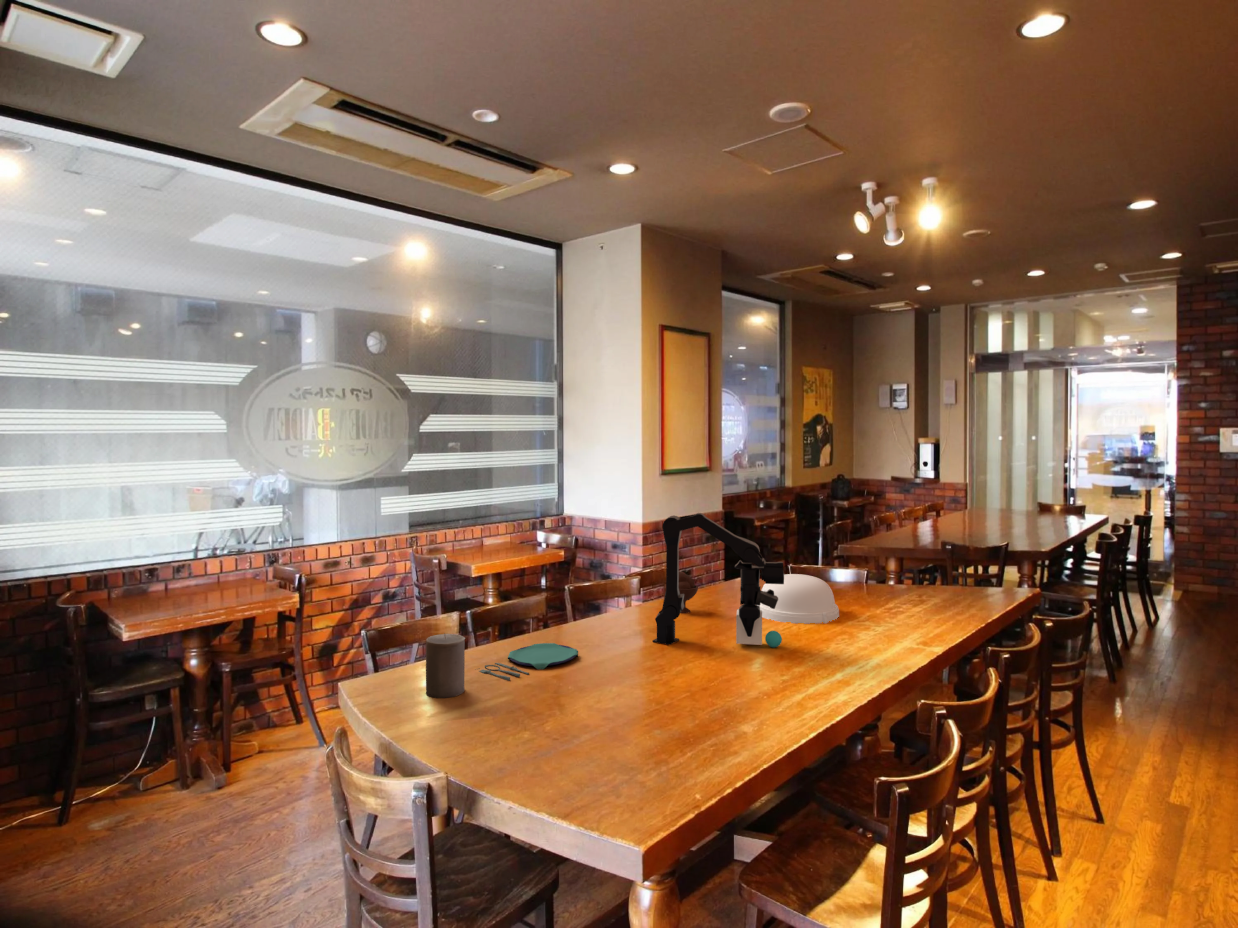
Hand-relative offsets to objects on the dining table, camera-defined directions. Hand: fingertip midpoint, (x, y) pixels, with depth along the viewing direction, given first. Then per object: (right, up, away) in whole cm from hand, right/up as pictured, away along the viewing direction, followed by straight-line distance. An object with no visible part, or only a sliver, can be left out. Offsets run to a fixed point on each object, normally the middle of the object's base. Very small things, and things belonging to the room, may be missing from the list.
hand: (749, 633), depth 227 cm
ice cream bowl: (-17, -3, +45) cm, 48 cm away
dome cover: (+25, -3, +42) cm, 49 cm away
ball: (+7, -2, -1) cm, 7 cm away
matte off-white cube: (0, -2, 0) cm, 2 cm away
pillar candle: (-85, -6, -40) cm, 94 cm away
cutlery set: (-66, -6, -16) cm, 68 cm away
